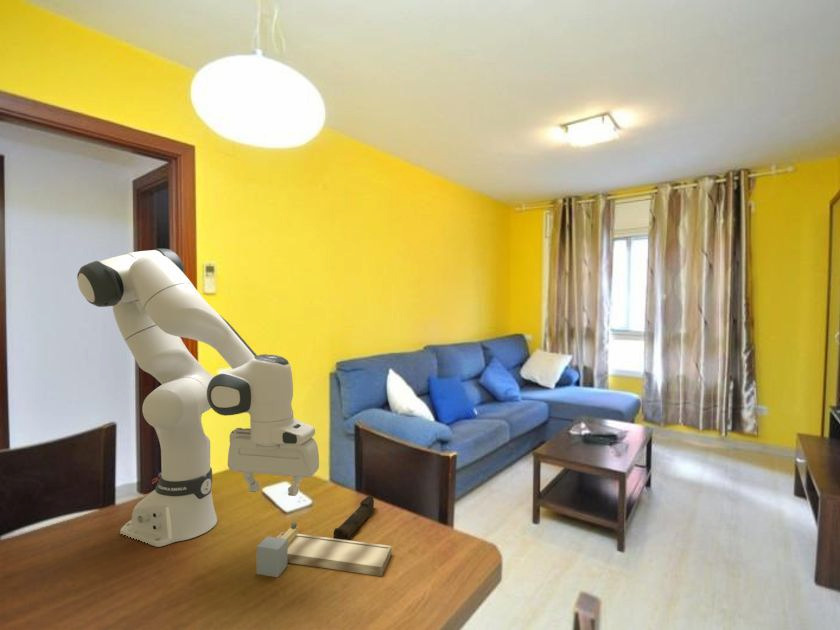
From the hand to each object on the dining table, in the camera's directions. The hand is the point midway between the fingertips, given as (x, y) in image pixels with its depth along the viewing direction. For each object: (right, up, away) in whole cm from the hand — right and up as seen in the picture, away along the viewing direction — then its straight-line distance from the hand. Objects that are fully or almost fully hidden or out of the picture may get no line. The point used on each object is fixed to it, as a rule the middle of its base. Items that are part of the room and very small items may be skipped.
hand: (273, 492), depth 91 cm
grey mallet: (0, -17, +5) cm, 18 cm away
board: (+11, -17, +5) cm, 21 cm away
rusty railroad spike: (+15, -17, +20) cm, 30 cm away
